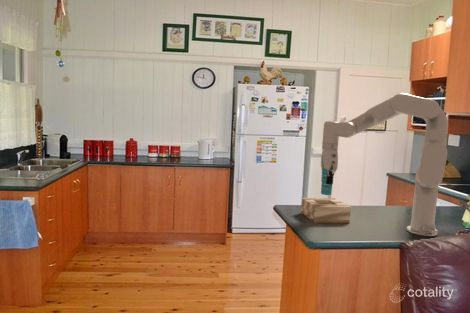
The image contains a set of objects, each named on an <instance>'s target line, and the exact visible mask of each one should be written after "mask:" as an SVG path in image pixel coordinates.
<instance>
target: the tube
mask: <svg viewBox="0 0 470 313" xmlns="http://www.w3.org/2000/svg"><path fill="white" fill-rule="evenodd" d="M321 156H322V155H321ZM330 170H332V169H330ZM330 172H331V171H330ZM327 176H328V171H327V170H326V169H324V165H323V156H322V168H321V179H322V181H321V189H320V193H321V195H324V196H331V195H332V192H333V191H332V190H333V184H326V181H327Z"/></svg>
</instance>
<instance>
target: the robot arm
mask: <svg viewBox="0 0 470 313" xmlns="http://www.w3.org/2000/svg"><path fill="white" fill-rule="evenodd" d="M401 114H403V115H407V116H412V117H416V118H420V119H422V120H424V121H425V125H426V127H425V132H424V133H425V134H424V139H423V143H422V147H421V150H420V152H421V158H420V164H419V167H418V168H417V169H416V171H415V178H414V179H415V180H414V193H413V200H412V209H411V220H410V225H408V226H406V231H407V232H408V233H411V234H414V235H418V236H423V237H436V236H437V235H438V233H439V230H438V229H436V225H435V222H436V220H435V219H436V213H437V212H436V211H437V203H438V197H439V196H438V194H439V185H440V184H441V183H442V181H443V178H444V173H445V169H446V164H447V159H448V148H447V146H446V141H447V134H448V128H449V122H448V117H447V115H446V113H445V112H444V110H443V109H442V108H441V107H440V104H439V103H438V102H437V101H436V100H434V99H430V98H425V97H421V96H416V95H412V94H409V93H406V92H405V93H404V92H401V93H397V94H395V95H394V96H392V97H389V99H386V100H385V101H382V102H381V103H378V104H376V105H374V106H372V107H370V108H369V109H367V110H366V111H365V112H363V113H362V114H360V115H358V116H356V117H354V118H352V119H351V120H348V121H343V122H341V121H340V122H338V121H334V120H333V121H330V120H329V121H324V124H323V129H322V130H323V133H322V142H321V143H322V145H321V151H322V152H321V157H320V158H321V159H320V167H321V169H322V156H323V165H324V169H326V170H327V171H328V176H327V181H326V184H332V185H333V184H334V177H335V173H336V171H338V167H339V166H338V165H339V153H338V149H339V138H341V137H342V138H345V139H346V138H348V139H349V138H351V137H353V136H355V135H357V134H359V133H362V132H364V131H365V130H368V129H370V128H373V127H376V126H379V125H381V124H383V123H384V122H386V121H389V120H390V119H393V118H395V117H397V116H399V115H401ZM330 169H332V170H330ZM330 171H331V172H330ZM321 182H322V178H321Z"/></svg>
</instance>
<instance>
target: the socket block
mask: <svg viewBox="0 0 470 313" xmlns="http://www.w3.org/2000/svg"><path fill="white" fill-rule="evenodd" d="M300 208H301V209H300V214H301V213H302V215H303V214H304V215H305V216H306V218H307V219H308V218H309V219H310V221H311V222H312V221H313V222H314V223H313V222H312V223H313V224H350V220H351V211H352V210H351V209H352V207H351V206H350V205H348V204H347V203H344V202H342V201H340V200H339V199H337V198H335V197H328V198H327V197H324V198H323V197H316V198H315V197H302V198H301V207H300ZM304 215H303V216H304ZM305 216H304V217H305ZM309 219H308V220H309Z"/></svg>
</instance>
